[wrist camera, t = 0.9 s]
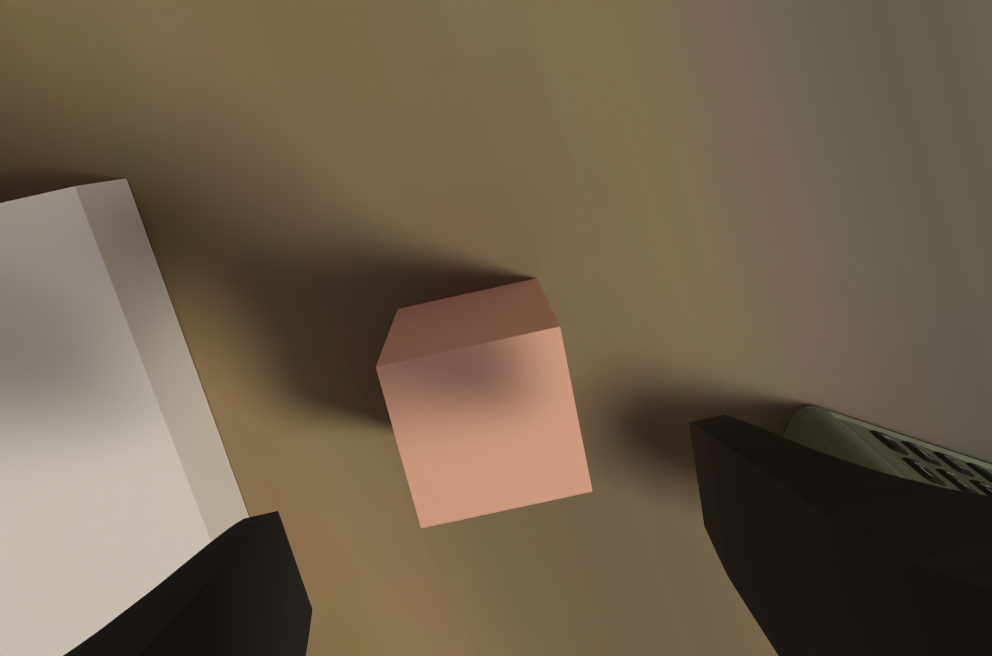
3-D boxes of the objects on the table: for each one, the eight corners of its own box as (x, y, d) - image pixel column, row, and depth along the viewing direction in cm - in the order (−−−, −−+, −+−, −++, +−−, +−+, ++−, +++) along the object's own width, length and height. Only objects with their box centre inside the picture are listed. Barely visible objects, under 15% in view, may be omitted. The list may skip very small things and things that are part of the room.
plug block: (563, 406, 21) (592, 491, 16) (431, 435, 21) (421, 527, 16) (536, 277, 19) (559, 326, 15) (397, 308, 20) (376, 367, 15)
